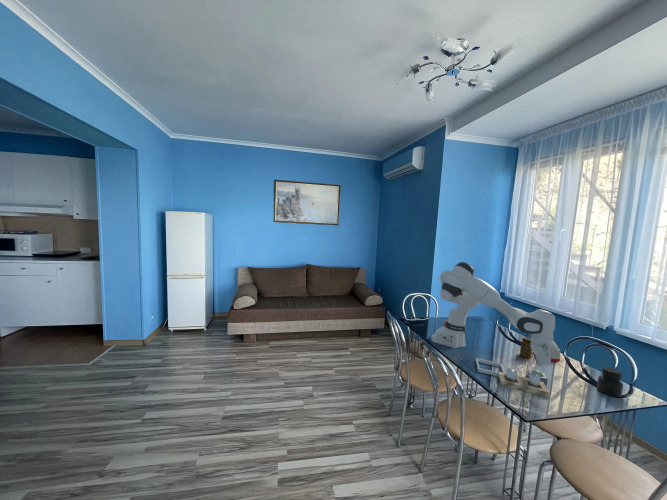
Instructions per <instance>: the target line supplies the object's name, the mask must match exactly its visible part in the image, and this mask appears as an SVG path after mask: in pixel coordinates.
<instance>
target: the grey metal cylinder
mask: <svg viewBox="0 0 667 500" xmlns="http://www.w3.org/2000/svg"><path fill="white" fill-rule="evenodd" d="M528 379H529V383H528V384H529V386H533V387H537V388H539V385H540V376H539V375H537V374H534V373H530V375H529V377H528Z"/></svg>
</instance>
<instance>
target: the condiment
mask: <svg viewBox="0 0 667 500" xmlns="http://www.w3.org/2000/svg"><path fill="white" fill-rule="evenodd" d="M519 349H520V350H519V353H518V354H516V355H515V357H516V358H519V359H521V360H524V361H527V362H529V361H531V360H533V359H534V357H532V355H533V351H532V350H531V338H529V337H522V339H521V343H520V348H519Z"/></svg>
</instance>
